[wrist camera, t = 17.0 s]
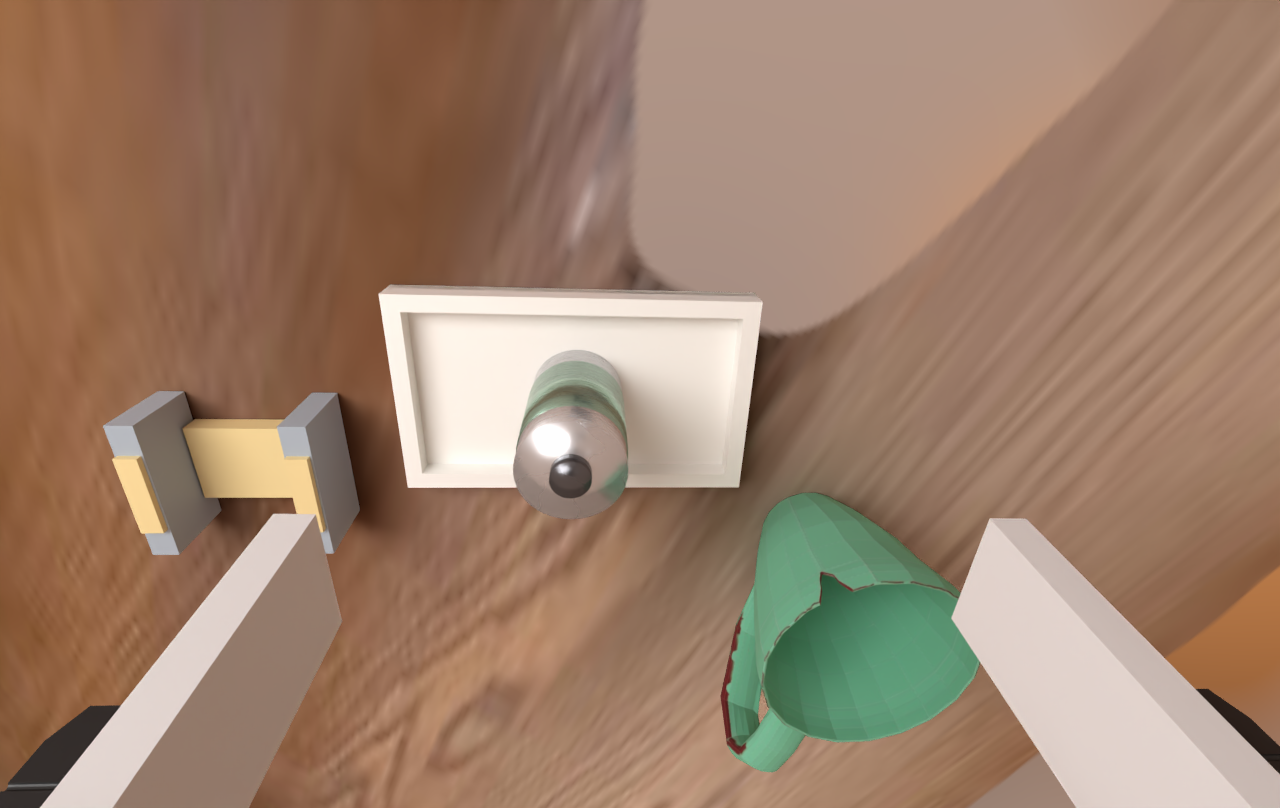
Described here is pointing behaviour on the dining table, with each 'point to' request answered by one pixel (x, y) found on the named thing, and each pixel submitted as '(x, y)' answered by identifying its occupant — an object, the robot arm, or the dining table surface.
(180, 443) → the cradle
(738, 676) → the mug
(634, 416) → the tray
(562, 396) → the cell
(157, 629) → the dining table surface
